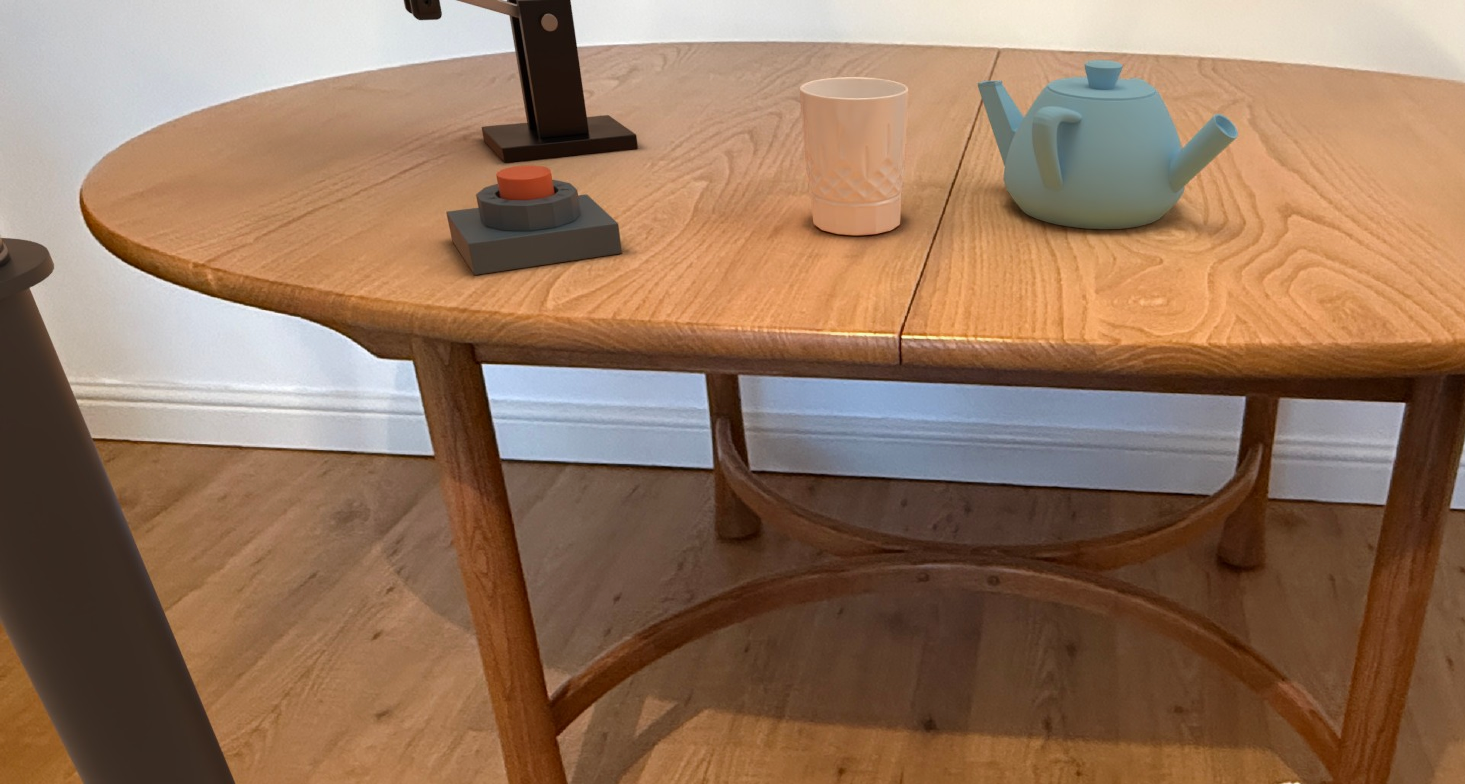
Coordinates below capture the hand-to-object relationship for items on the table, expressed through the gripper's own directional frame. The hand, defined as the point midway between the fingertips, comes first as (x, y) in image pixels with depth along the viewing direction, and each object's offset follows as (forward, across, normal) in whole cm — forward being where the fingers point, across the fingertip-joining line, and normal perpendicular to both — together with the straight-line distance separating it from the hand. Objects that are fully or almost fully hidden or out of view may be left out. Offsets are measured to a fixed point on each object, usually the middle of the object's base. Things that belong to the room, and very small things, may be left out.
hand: (424, 15), depth 96 cm
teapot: (+11, +39, +43) cm, 59 cm away
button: (+8, +29, +1) cm, 30 cm away
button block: (+12, +29, +1) cm, 31 cm away
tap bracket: (+12, 0, +10) cm, 15 cm away
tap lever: (+1, 0, +4) cm, 4 cm away
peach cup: (+12, +34, +24) cm, 43 cm away
